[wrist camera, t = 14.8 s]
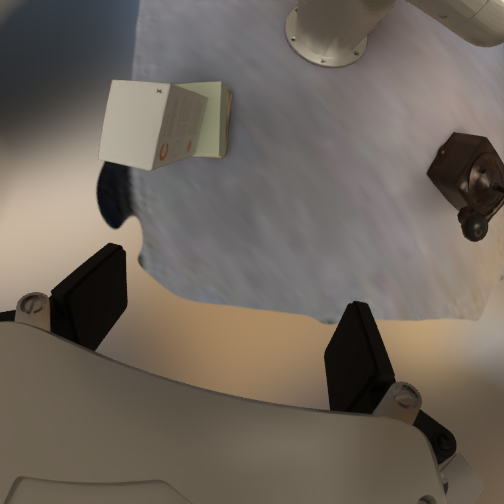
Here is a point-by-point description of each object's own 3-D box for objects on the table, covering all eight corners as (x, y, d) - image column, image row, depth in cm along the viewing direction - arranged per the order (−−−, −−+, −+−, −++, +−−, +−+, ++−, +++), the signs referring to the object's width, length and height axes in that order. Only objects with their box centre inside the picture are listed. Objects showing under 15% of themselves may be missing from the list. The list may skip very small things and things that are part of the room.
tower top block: (160, 90, 34) (148, 87, 30) (227, 86, 33) (221, 81, 30) (160, 154, 38) (148, 157, 35) (225, 153, 37) (218, 156, 34)
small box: (164, 90, 30) (111, 77, 19) (209, 97, 31) (172, 81, 19) (151, 147, 34) (96, 160, 22) (194, 156, 34) (152, 172, 22)
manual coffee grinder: (452, 127, 34) (522, 137, 17) (484, 170, 35) (549, 197, 19) (405, 193, 40) (464, 233, 24) (441, 231, 42) (497, 280, 25)
